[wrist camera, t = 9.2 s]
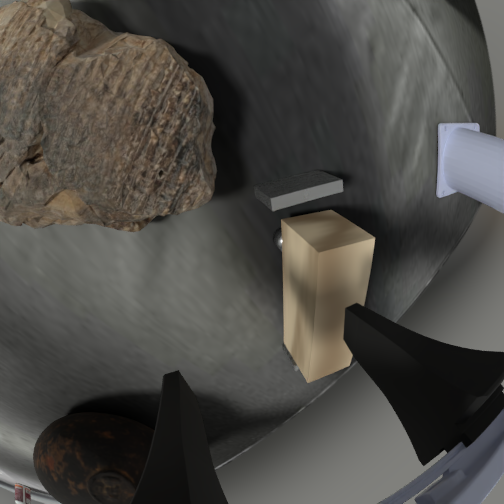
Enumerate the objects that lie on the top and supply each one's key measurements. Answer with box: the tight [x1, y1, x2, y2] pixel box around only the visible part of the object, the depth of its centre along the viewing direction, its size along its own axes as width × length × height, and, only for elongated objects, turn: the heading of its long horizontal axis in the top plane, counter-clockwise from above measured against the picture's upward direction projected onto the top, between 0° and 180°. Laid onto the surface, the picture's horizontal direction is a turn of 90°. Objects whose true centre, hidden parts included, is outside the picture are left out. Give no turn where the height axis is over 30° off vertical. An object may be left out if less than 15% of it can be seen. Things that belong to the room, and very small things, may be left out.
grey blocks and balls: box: [254, 170, 343, 371], centre depth 22 cm, size 5×17×3 cm, turn 11°
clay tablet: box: [0, 0, 217, 232], centre depth 11 cm, size 14×5×20 cm
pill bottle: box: [15, 483, 31, 504], centre depth 28 cm, size 5×5×8 cm
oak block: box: [281, 210, 375, 383], centre depth 20 cm, size 4×12×5 cm, turn 5°
